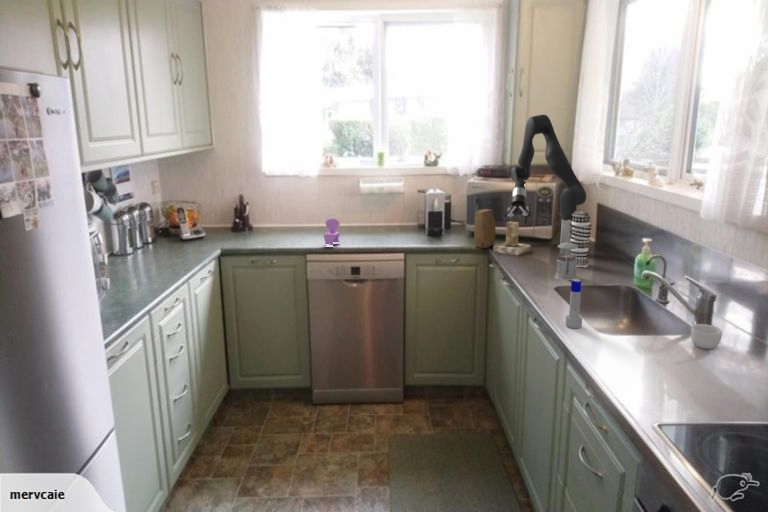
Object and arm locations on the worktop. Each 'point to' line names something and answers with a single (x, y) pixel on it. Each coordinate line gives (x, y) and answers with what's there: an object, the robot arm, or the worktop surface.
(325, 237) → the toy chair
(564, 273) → the french press
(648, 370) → the worktop surface
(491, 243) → the block
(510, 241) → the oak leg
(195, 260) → the worktop surface
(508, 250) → the birch board
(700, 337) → the teacup
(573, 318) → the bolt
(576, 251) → the decorative candle
